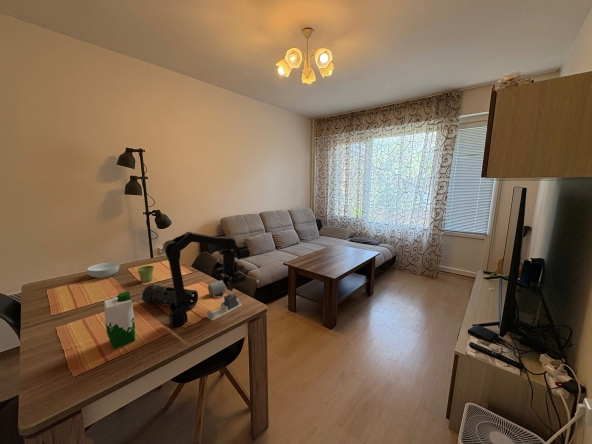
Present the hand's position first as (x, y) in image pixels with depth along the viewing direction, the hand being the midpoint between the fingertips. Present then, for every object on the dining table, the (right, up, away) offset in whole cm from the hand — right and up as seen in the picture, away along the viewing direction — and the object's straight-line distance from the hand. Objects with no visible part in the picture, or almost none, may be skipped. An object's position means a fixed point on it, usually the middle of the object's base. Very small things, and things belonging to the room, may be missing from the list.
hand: (230, 290), depth 119 cm
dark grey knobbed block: (0, -9, +2) cm, 9 cm away
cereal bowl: (-96, -2, +39) cm, 104 cm away
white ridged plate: (-2, -10, -1) cm, 11 cm away
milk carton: (-37, -14, -24) cm, 47 cm away
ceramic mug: (-11, -8, +15) cm, 20 cm away
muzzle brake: (-33, -9, +3) cm, 34 cm away
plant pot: (-64, -3, +33) cm, 72 cm away
